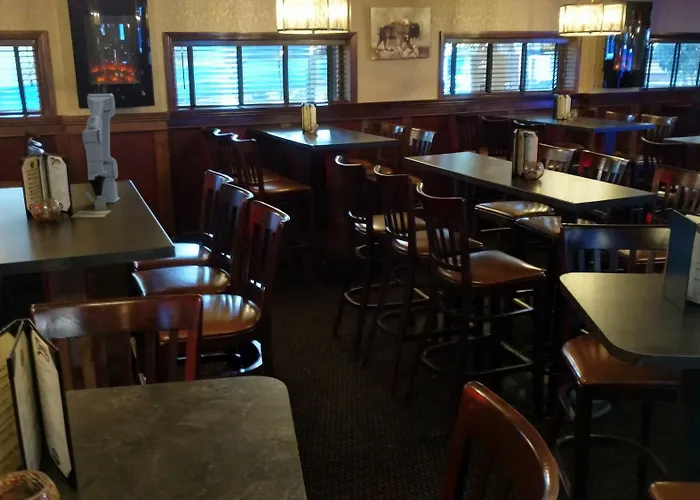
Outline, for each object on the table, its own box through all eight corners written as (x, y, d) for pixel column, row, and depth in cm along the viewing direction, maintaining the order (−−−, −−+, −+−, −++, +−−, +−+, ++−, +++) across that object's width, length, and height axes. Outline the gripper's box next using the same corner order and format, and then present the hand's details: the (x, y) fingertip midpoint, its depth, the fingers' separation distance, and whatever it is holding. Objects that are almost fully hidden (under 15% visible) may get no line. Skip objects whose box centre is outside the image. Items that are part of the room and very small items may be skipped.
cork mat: (79, 212, 263) (79, 211, 263) (111, 211, 264) (111, 210, 264) (70, 218, 253) (70, 217, 252) (103, 217, 253) (103, 216, 253)
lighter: (106, 209, 267) (104, 189, 265) (106, 210, 266) (104, 190, 264) (87, 211, 265) (84, 190, 263) (87, 212, 263) (84, 191, 261)
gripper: (100, 162, 258) (103, 198, 261) (110, 157, 271) (113, 191, 275) (80, 163, 257) (84, 199, 261) (92, 158, 271) (95, 192, 275)
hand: (98, 195), depth 268 cm, fingers closed
